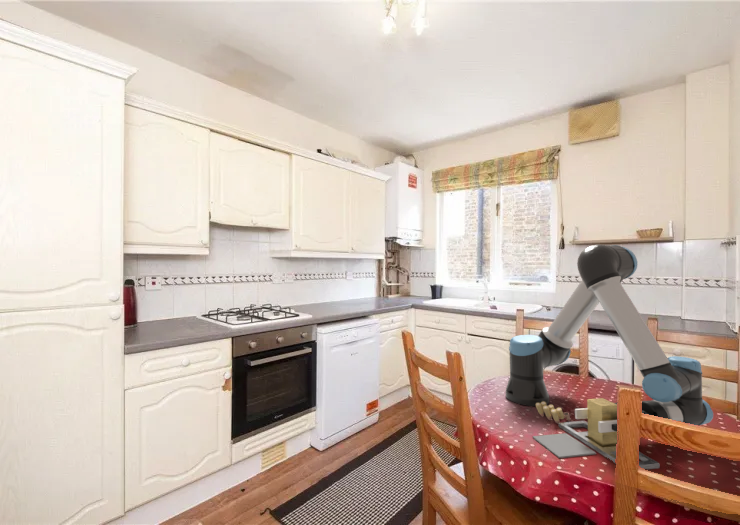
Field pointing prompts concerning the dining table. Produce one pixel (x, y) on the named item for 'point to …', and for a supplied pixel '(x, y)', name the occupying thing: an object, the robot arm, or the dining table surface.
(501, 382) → the dining table surface
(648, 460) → the rail
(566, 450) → the mat
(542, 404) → the ammunition
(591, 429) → the block
